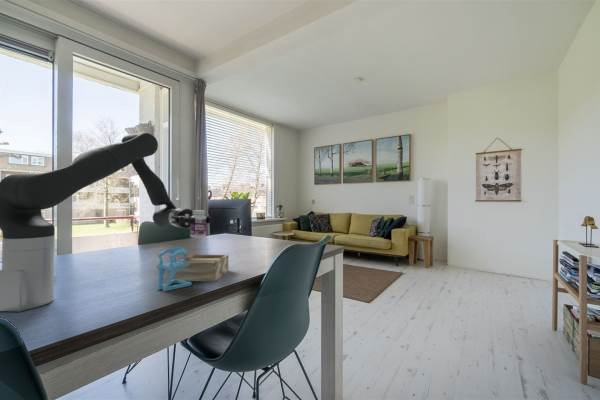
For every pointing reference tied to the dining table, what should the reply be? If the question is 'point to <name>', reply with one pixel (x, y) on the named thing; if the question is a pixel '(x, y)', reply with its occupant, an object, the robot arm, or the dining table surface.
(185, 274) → the birch block
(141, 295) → the dining table surface
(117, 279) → the dining table surface
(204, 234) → the pill bottle
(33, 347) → the dining table surface
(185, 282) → the chair
